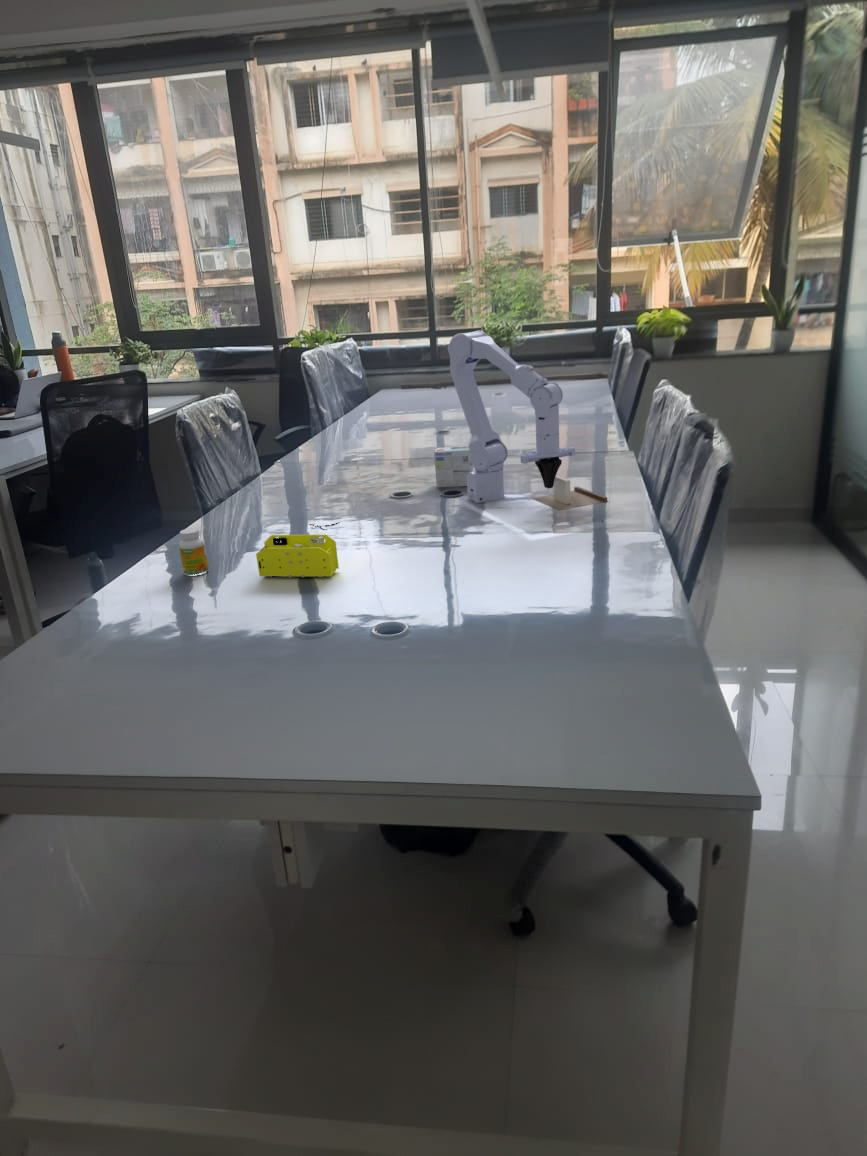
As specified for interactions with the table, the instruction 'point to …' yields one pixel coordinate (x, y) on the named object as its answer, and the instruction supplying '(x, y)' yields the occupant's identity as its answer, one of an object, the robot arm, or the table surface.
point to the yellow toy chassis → (298, 556)
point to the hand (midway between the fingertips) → (548, 487)
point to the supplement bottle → (193, 552)
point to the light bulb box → (452, 466)
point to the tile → (562, 489)
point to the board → (573, 499)
